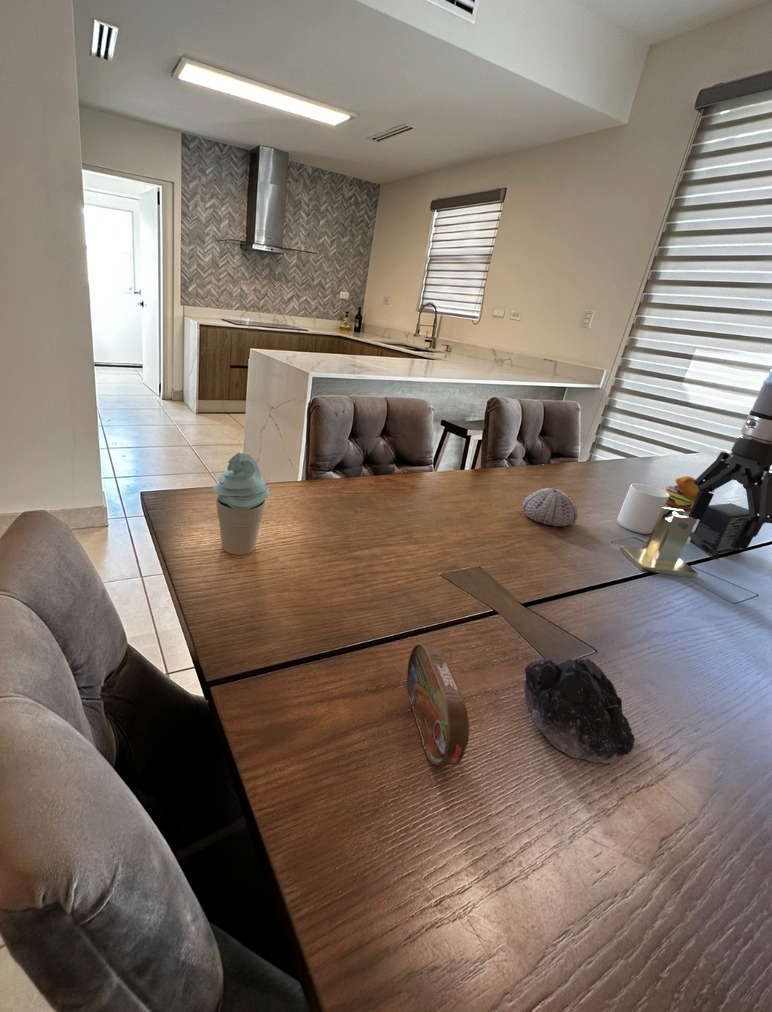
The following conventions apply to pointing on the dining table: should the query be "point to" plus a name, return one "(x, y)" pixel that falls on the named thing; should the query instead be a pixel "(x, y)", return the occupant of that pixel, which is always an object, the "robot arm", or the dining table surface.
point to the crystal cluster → (578, 709)
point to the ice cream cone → (240, 504)
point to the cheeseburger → (682, 493)
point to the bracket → (665, 546)
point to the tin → (437, 705)
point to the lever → (697, 540)
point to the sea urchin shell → (550, 507)
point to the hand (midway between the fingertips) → (715, 532)
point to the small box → (721, 526)
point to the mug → (642, 508)
